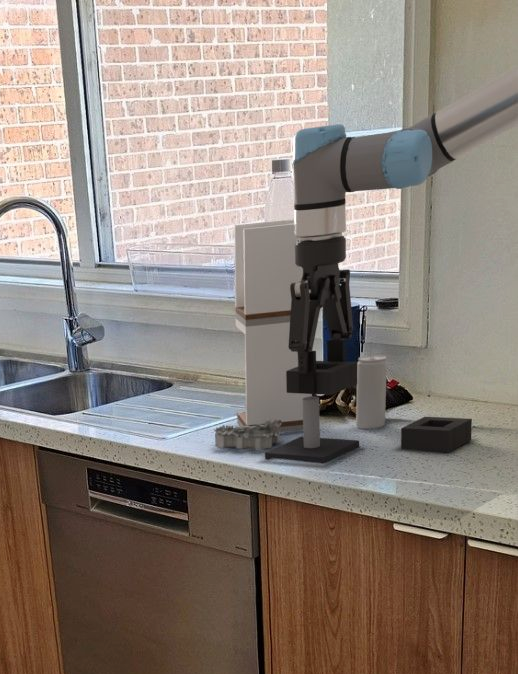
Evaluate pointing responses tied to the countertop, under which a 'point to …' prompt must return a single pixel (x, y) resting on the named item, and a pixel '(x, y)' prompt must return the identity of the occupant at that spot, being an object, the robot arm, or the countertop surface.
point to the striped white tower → (267, 320)
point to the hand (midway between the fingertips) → (322, 386)
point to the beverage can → (371, 392)
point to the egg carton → (248, 435)
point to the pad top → (436, 434)
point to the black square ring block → (326, 377)
